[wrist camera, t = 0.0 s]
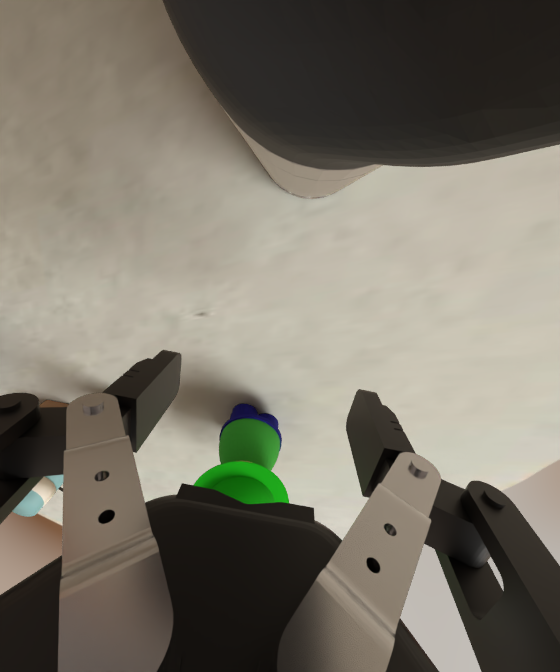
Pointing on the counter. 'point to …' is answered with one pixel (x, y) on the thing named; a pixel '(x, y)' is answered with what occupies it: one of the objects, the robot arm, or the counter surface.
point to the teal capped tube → (39, 495)
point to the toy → (247, 459)
